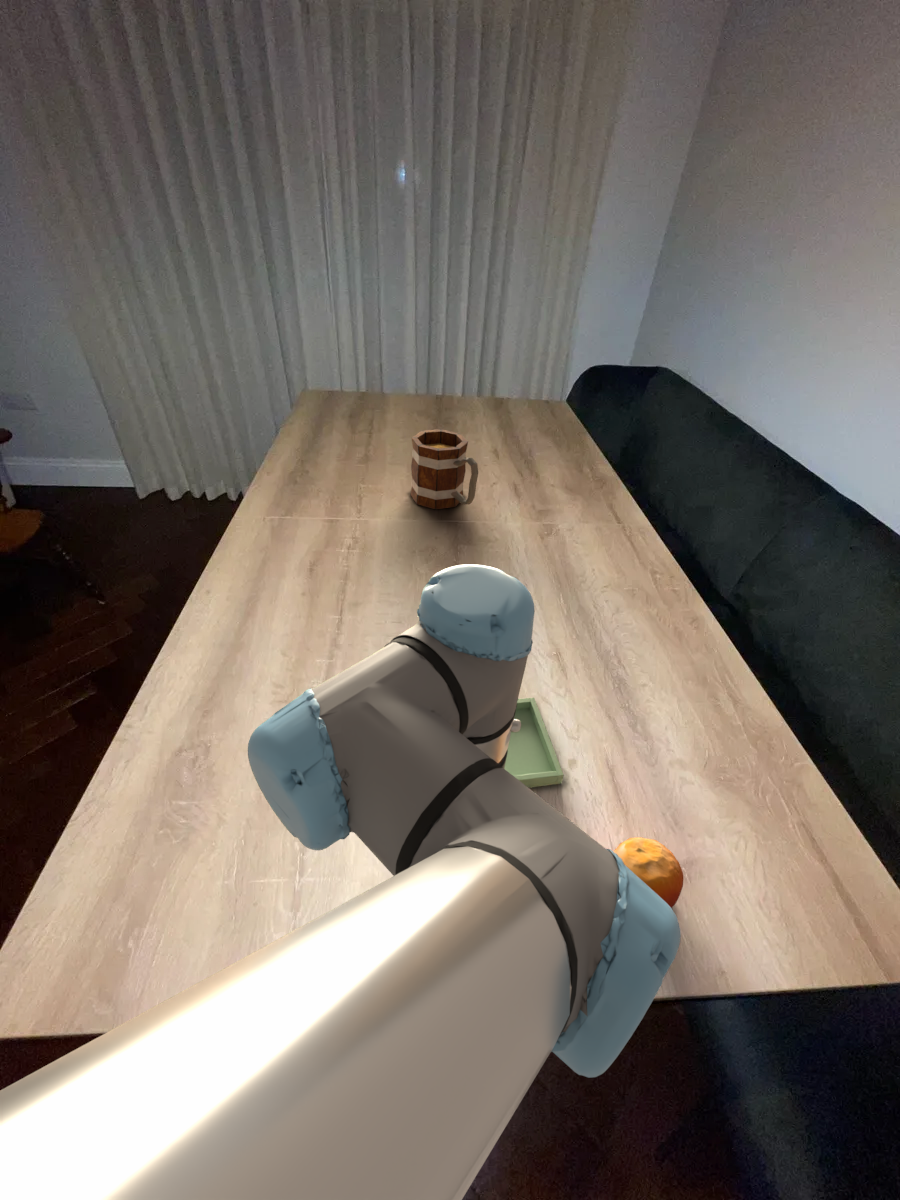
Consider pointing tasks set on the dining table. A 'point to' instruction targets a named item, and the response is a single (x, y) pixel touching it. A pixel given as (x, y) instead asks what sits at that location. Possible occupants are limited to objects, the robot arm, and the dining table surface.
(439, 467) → the mug
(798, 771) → the dining table surface
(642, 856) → the fruit
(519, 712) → the tray
